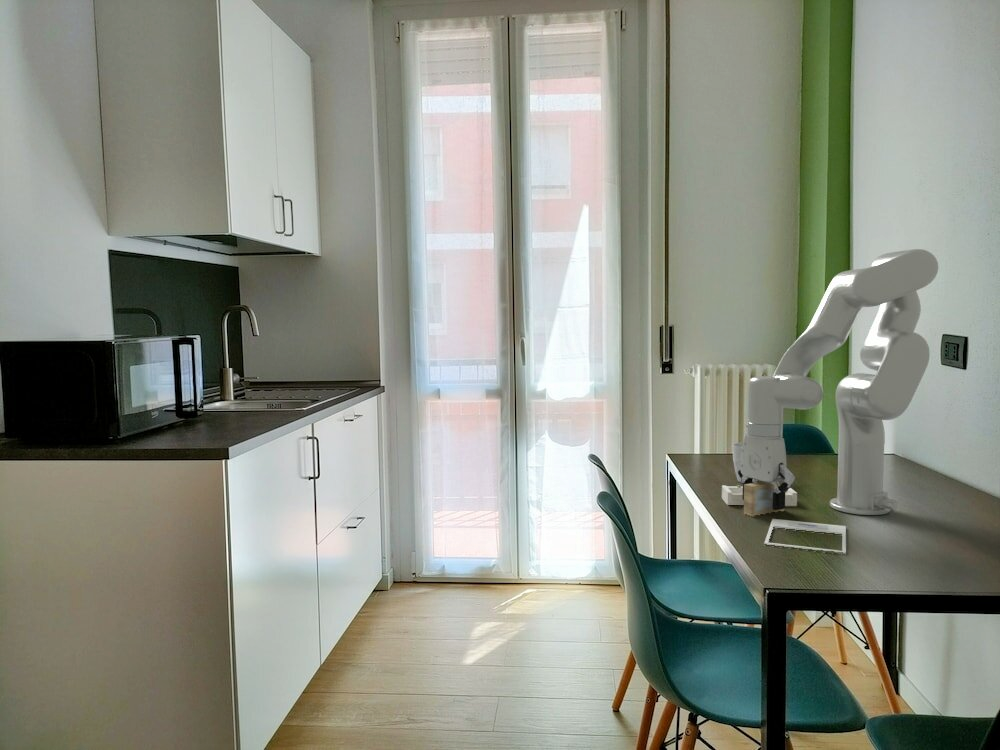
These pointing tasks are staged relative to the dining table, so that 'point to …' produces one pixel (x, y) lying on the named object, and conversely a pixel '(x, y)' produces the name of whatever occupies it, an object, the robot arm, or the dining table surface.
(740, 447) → the cup
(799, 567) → the dining table surface
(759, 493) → the oak frame
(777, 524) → the photo frame
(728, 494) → the white pegged tray
